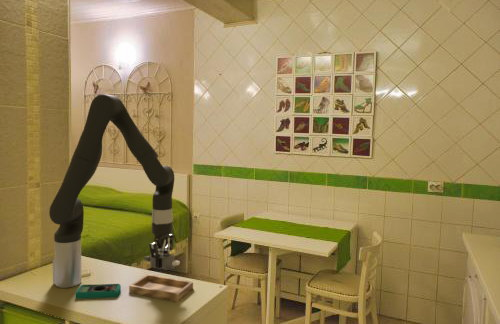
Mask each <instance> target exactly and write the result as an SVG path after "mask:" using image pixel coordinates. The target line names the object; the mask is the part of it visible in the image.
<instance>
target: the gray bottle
mask: <svg viewBox="0 0 500 324" xmlns="http://www.w3.org/2000/svg"><path fill="white" fill-rule="evenodd" d="M158 253H160V252H158ZM154 254H155V253H154ZM149 255H150V256H149ZM149 255H145V256H144V261H145V262H150V264H149V266H150V267H151V268H153V269H159V270H164V271H168V270H169V271H171V270H173V269H175V266H179V265H180V264H181V261H180V260H177V259H176V260H175V255H174V254H173V253H169V254H167V253H163V252H162V267H161V268H156V266H155V258H152V257H151V253H150V254H149Z"/></svg>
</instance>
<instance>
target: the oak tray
mask: <svg viewBox="0 0 500 324" xmlns="http://www.w3.org/2000/svg"><path fill="white" fill-rule="evenodd" d="M128 287H129V288H128V293H129V294H136V295H139V296H146V297H151V298H155V299H160V300H161V299H162V300H164V301H165V300H166V301H171V302H176V303H179V302H180V300H182V299H183V298H184V297H185V296H186V295H187V294H189V293H190V292H191V291H192V290H194V282H193V281H188V280H184V279H183V280H182V279H178V278H177V279H176V278H172V277H167V276H162V275H161V276H159V275H155V274H149V273H148V274H146V275H144V276H142V277H141V278H139V279H137V280H135V282H133V283H131V284H130V285H128Z"/></svg>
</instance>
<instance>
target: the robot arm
mask: <svg viewBox="0 0 500 324" xmlns="http://www.w3.org/2000/svg"><path fill="white" fill-rule="evenodd" d="M110 122H111V123H112V124H113V125H114V126H115V127H116V128H117V129H118V131H119V132H120V133H121V135H122V137H123V139H124V141H125V143H126V146H127V147H128V149H129V152H130V153H131V154H132V155H133V157H134V158H135V159H136V161H138V163H139V164H140V166H141V167H142V169H143V171H144V173H145V175H146V177H147V178H148V180H149V181H150V182H151V184H153V185H154V186H155V192H154V193H153V194H152V211H151V233H152V235H154V238H153V242H152V243H151V242H150V243H149V252H150V254H151V257H152V258H155V266H156V268H155V269H158V268H161V267H162V253H167V254H171V251H173V248H174V246H173V245H174V241H175V240H174V239H175V234H173V230H174V229H173V227H174V226H173V225H174V224H173V222H174V218H173V217H174V215H173V192H174V186H175V173H174V170H173V169H172V167H170V166H168V165H162V163H161V162H160V160H159V156H158V153H157V152H156V150H155V149H154V148H153V146H152V145H151V144H150V143H149V141H148V140H147V139H146V137H145V136H144V135H143V133H142V132H141V131H140V129H139V128H138V126H137V125H136V123H135V122H134V120H133V118H132V117H131V115H130V113H129V112H128V110H127V108H126V106H125V104H124V103H123V101H122V100H121V98H119V97H118V96H117V95H113V94H105V93H102V94H98V95H96V96H95V97H94V98H93V99H92V101H91V102H90V105H89V109H88V112H87V117H86V121H85V124H84V127H83V130H82V132H81V135H80V137H79V140H78V142H77V145H76V147H75V150H74V152H73V155H72V157H71V160H70V162H69V165H68V168H67V170H66V173H65V175H64V177H63V181H62V183H61V185H60V188H58V191H57V192H56V195H55V197H54V198H53V200H52V202H51V204H50V207H49V213H48V215H49V218H50V220H51V221H52V223H54V224H56V225H59V227H58V228H57V230H56V231H55V233H54V236H53V241H54V242H53V243H54V244H53V245H54V246H53V247H54V259H52V285H54V286H55V287H57V288H60V289H61V288H62V289H66V288H73V287H77V286H79V285H80V284H81V283H82V233H83V231H84V219H85V218H84V215H85V214H84V213H85V211H84V205H83V202H82V201H81V200H80V198H79V195H80V193H81V191H82V190H83V189H84V188H85V186H86V185H87V184H89V183H88V182H89V181H90V180H91V179H92V178H93V176H94V175H95V173H96V171H97V169H98V167H99V164H100V161H101V159H102V155H103V138H104V134H105V132H106V130H107V128H108V125H109V123H110ZM158 252H160V253H158ZM154 253H155V254H154Z"/></svg>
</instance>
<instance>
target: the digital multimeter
mask: <svg viewBox="0 0 500 324" xmlns="http://www.w3.org/2000/svg"><path fill="white" fill-rule="evenodd" d="M121 287H122V286H121V284H120V283H109V284H108V283H107V284H106V283H105V284H104V283H103V284H102V283H101V284H81V285H79V286H78V288H77V290H76V291H75V300H77V299H78V300H83V299H103V298H105V299H106V298H107V299H108V298H109V299H110V298H115V299H116V298H118V296H120V294H121V292H122V290H121Z"/></svg>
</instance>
